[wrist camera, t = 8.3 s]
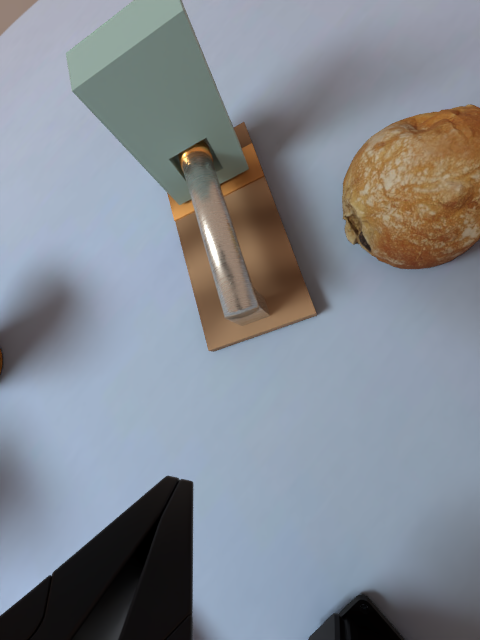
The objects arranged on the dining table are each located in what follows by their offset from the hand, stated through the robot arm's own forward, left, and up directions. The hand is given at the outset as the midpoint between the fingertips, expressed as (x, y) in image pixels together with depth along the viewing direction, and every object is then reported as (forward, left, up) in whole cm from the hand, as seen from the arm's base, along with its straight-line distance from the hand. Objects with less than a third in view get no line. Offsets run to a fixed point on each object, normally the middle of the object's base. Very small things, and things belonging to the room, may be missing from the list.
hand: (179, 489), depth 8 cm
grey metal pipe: (+13, -9, -12) cm, 20 cm away
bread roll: (+3, -19, -14) cm, 24 cm away
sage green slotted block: (+18, -12, -12) cm, 24 cm away
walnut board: (+13, -9, -13) cm, 21 cm away
